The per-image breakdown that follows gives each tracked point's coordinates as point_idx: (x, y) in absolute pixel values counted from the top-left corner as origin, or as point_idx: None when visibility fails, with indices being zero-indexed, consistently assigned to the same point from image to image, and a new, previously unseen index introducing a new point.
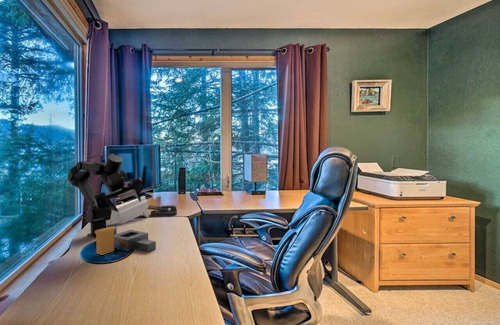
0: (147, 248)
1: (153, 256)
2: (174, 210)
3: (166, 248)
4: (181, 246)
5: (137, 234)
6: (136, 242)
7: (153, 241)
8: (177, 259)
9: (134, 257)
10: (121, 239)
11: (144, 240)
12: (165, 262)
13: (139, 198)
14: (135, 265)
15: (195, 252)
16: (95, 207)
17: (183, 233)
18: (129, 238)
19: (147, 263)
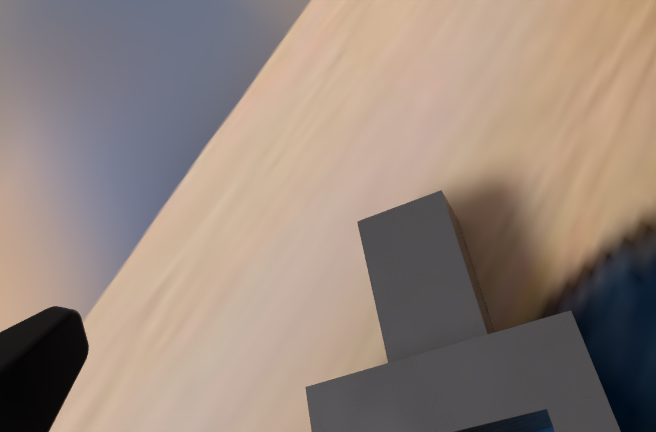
0: (451, 211)
1: (471, 123)
2: None
3: (326, 209)
4: (248, 184)
5: (403, 425)
6: (483, 320)
7: (372, 228)
8: (397, 15)
9: (589, 180)
10: (614, 420)
11: (407, 306)
12: (470, 6)
13: (35, 331)
14: (646, 42)
15: (273, 58)
16: None
17: None
18: (537, 346)
19: (563, 37)
